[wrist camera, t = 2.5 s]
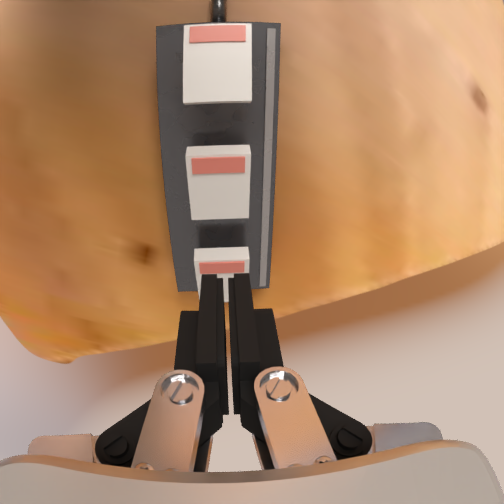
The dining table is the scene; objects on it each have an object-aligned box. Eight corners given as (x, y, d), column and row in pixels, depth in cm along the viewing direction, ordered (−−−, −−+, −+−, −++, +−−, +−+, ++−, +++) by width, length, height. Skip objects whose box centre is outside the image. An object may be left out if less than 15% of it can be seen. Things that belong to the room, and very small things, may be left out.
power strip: (165, -4, 19) (156, -15, 16) (273, -7, 20) (282, -18, 17) (181, 267, 34) (177, 293, 31) (264, 264, 35) (269, 290, 32)
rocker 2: (187, 146, 22) (185, 156, 20) (249, 144, 22) (251, 154, 21) (192, 209, 26) (191, 221, 24) (247, 207, 26) (248, 219, 25)
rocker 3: (194, 248, 26) (193, 262, 25) (248, 246, 27) (249, 260, 25) (200, 291, 30) (200, 304, 29) (246, 289, 31) (247, 302, 29)
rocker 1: (186, 31, 18) (183, 24, 16) (249, 29, 18) (251, 22, 17) (185, 104, 20) (182, 102, 18) (250, 103, 20) (252, 100, 19)
